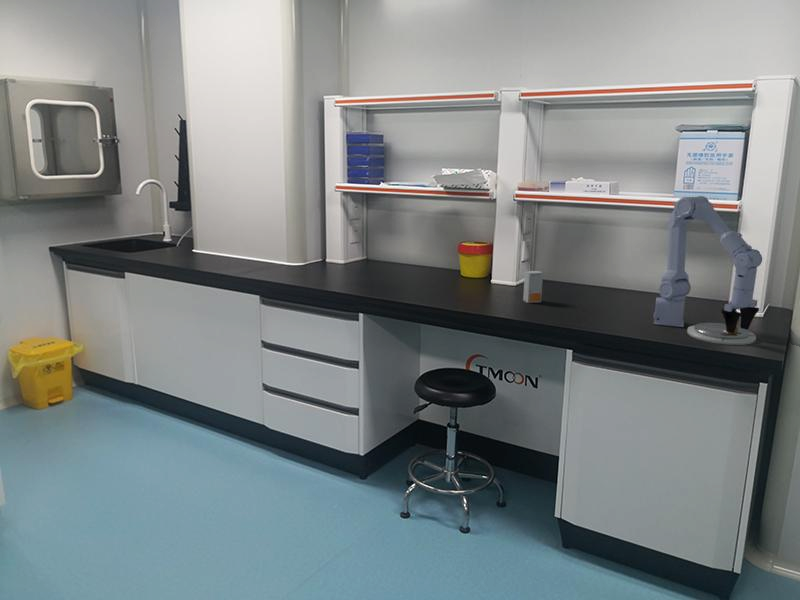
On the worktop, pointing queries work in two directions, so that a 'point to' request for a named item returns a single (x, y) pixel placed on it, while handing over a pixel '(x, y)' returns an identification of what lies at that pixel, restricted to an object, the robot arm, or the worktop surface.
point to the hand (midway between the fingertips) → (737, 330)
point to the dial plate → (725, 341)
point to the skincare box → (533, 286)
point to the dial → (720, 330)
